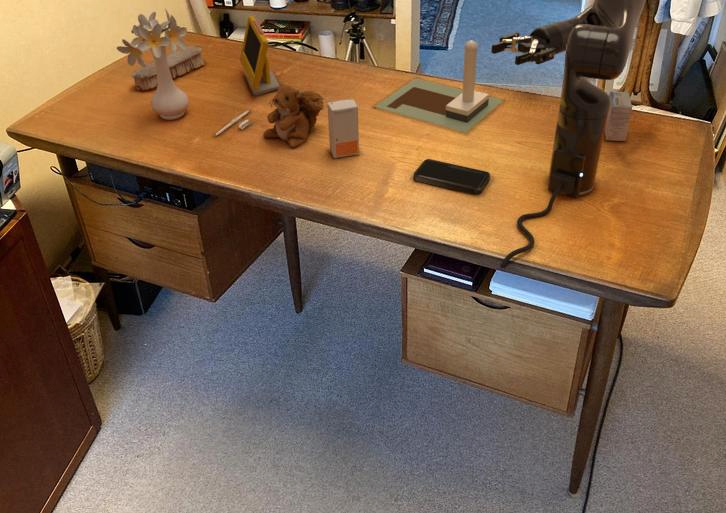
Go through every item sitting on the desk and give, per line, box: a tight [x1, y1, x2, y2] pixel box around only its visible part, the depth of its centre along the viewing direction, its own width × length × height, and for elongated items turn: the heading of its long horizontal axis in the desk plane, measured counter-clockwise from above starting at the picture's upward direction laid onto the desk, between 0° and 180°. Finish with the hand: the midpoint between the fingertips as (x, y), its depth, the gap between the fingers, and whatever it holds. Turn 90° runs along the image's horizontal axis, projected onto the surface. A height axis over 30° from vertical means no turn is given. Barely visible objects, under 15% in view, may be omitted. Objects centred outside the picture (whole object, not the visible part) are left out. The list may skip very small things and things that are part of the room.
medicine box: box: [604, 91, 633, 142], centre depth 160 cm, size 8×4×9 cm, turn 168°
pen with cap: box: [214, 109, 251, 137], centre depth 172 cm, size 14×4×2 cm, turn 153°
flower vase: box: [116, 8, 190, 121], centre depth 170 cm, size 13×18×25 cm
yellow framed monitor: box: [239, 14, 280, 97], centre depth 186 cm, size 20×8×16 cm, turn 17°
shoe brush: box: [131, 45, 205, 91], centre depth 196 cm, size 24×8×5 cm, turn 146°
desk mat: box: [373, 77, 504, 134], centre depth 178 cm, size 20×26×1 cm
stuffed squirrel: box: [262, 81, 326, 149], centre depth 164 cm, size 10×14×13 cm
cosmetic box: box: [326, 98, 360, 159], centre depth 157 cm, size 6×4×12 cm
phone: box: [413, 158, 491, 195], centre depth 150 cm, size 8×1×15 cm
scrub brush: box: [446, 40, 490, 123], centre depth 168 cm, size 11×6×18 cm, turn 145°
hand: (504, 55), depth 171 cm, fingers open, 8 cm apart
